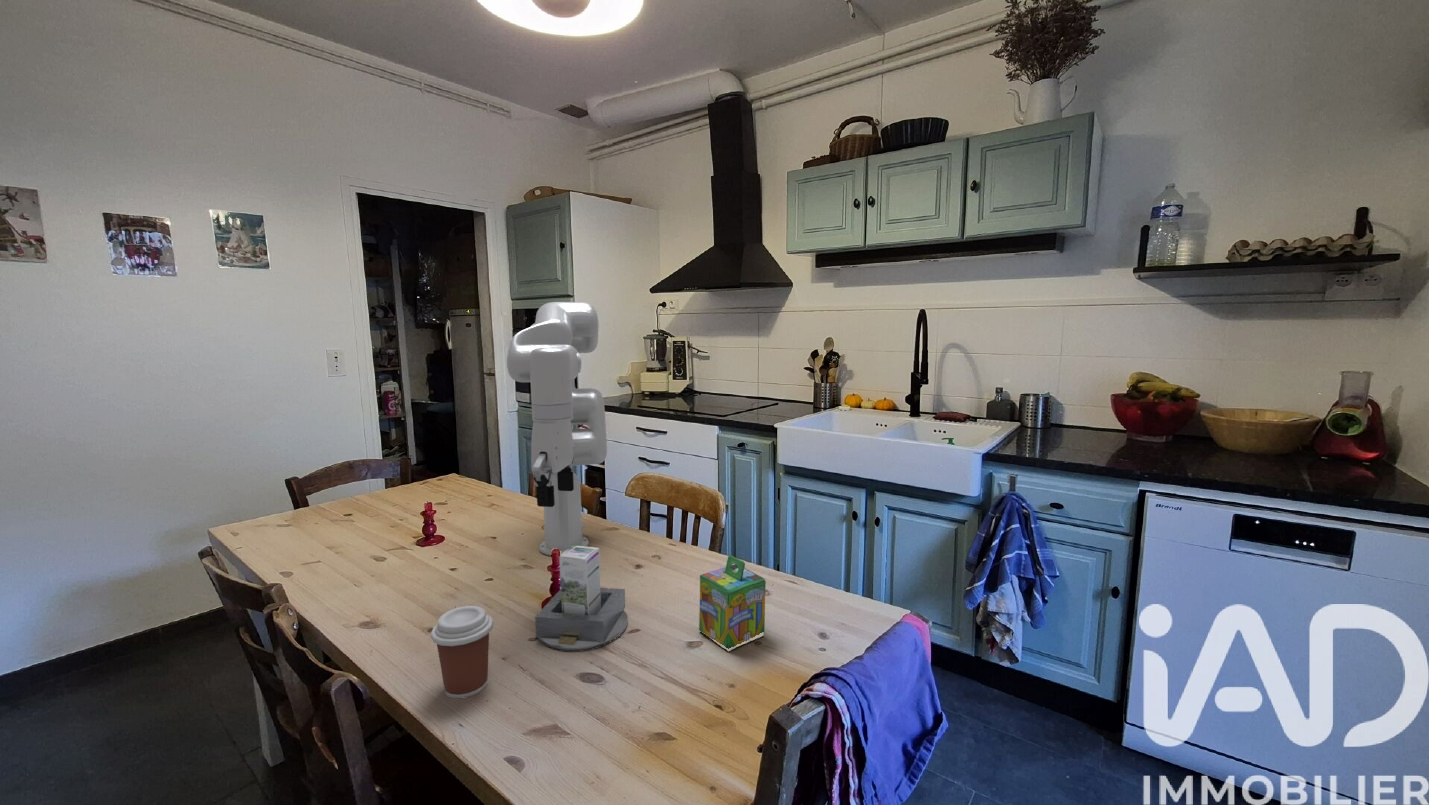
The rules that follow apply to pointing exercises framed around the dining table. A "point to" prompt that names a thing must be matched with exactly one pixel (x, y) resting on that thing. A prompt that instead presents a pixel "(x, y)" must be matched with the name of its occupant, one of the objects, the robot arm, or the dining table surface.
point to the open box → (582, 623)
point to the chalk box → (732, 603)
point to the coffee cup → (463, 649)
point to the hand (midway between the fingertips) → (556, 498)
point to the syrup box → (580, 580)
